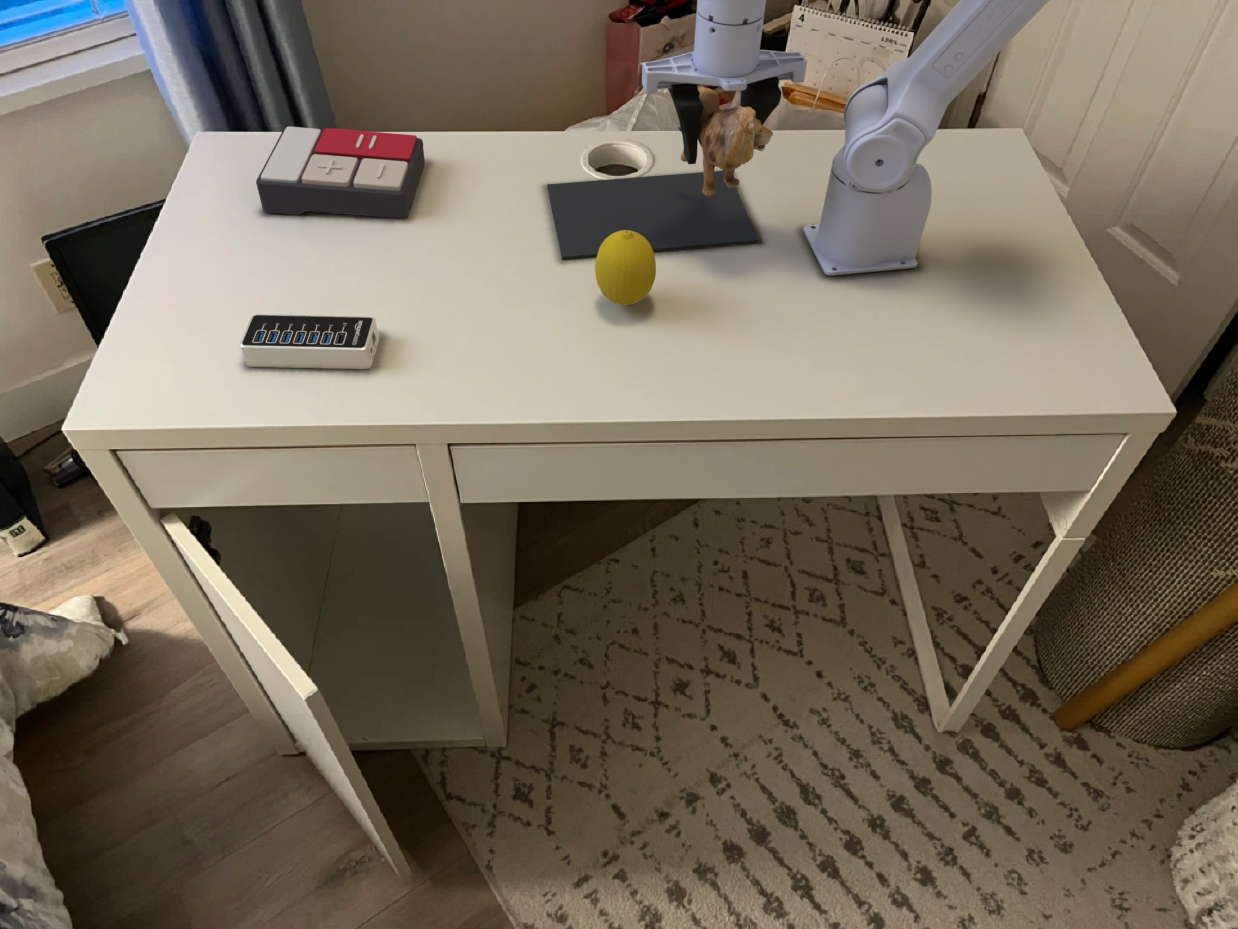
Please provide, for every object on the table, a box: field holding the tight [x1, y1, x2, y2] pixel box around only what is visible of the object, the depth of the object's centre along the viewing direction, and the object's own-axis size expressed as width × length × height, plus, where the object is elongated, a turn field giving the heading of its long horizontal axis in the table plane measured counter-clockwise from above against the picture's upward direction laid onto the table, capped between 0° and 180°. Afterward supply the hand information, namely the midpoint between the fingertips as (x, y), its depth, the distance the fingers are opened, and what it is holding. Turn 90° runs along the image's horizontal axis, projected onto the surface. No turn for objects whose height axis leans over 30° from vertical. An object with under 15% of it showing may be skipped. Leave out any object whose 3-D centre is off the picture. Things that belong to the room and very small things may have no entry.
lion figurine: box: [677, 86, 774, 196], centre depth 88 cm, size 15×5×9 cm, turn 23°
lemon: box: [594, 230, 657, 306], centre depth 86 cm, size 6×6×8 cm
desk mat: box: [546, 170, 760, 261], centre depth 98 cm, size 20×13×1 cm, turn 99°
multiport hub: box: [239, 313, 380, 370], centre depth 83 cm, size 4×11×2 cm, turn 89°
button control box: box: [255, 126, 426, 219], centre depth 99 cm, size 11×4×15 cm
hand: (715, 156), depth 90 cm, fingers closed on lion figurine, 4 cm apart
